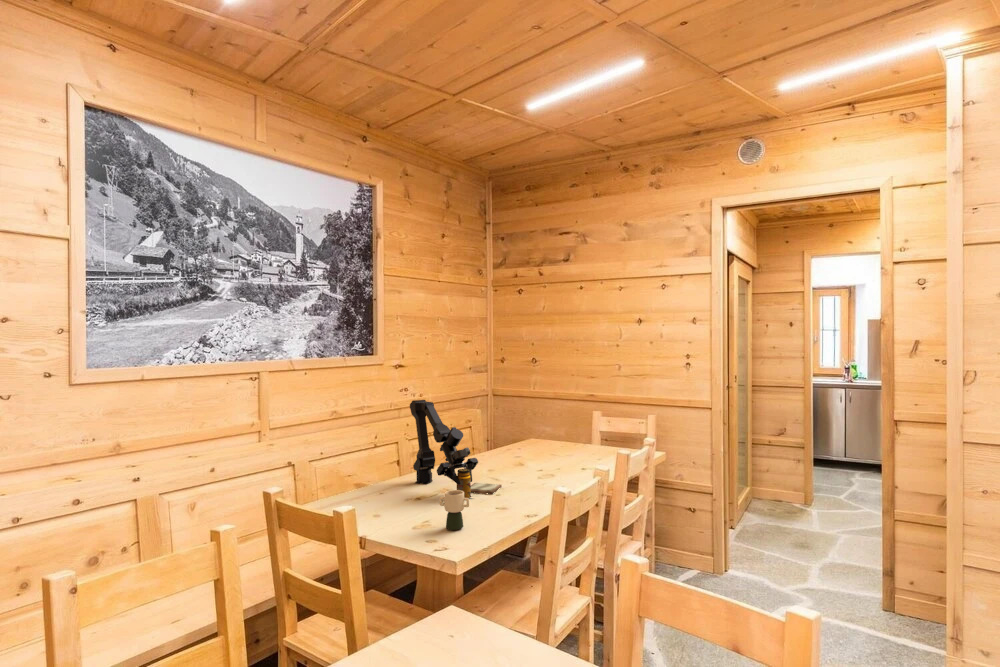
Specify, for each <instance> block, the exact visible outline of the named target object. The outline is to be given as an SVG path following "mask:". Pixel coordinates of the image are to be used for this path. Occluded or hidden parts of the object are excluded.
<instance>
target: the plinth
mask: <svg viewBox="0 0 1000 667" xmlns="http://www.w3.org/2000/svg"><path fill="white" fill-rule="evenodd" d="M502 487H503V486H502V484H499V483H497V484H496V483H485V482H484V483H483V482H474V483H471V492H475V493H474V494H480V493H488V494H487V495H494V494H495V493H497V490H498V489H499V488H500V489H502ZM500 489H499V490H500ZM499 490H498V491H499ZM494 492H495V493H494ZM493 493H494V494H493Z"/></svg>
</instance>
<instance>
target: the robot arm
mask: <svg viewBox="0 0 1000 667" xmlns="http://www.w3.org/2000/svg"><path fill="white" fill-rule="evenodd" d="M409 409H410V413H411V415H412V417H413V418H414V419H415V425H416V433H417V443H418V451H417V453H416V459H415V461H414V463H413V465H412V467H413V470H414V471H416V481H415V482H414V484H420V483H423V484H422V485H428V484H430V483H432V482H433V471H432V470H434V469H435V465H436V456H435V451H434V450H432V449H431V447H430V442H429V434H428V427H427V419H428V421H429V423H430V425H431V427H432V429H433V430H432V431H433V432H432V436H433V437H434V438H433V439H434V441H435V442H436V443H438V444H439V443H442V444H440V448H439V451H440V452H443V453H444V456H445V462H440V464H439V466H438V467H437V469H436V473H437V476H444V477H447V478H449V479H450V480H452V481H453V482H454V483H456V485H457V484H460V482H459V479H458V477H457V473H456V470H458V469H469V470H470V477H471V483H472V482H473V473H472V472H473V470H474V469H476V467H477V465H478V464H479V460H478V458H477V457H471V458H468V459H467V460H466V459H465V458H467V457H469V455H471V450H470V448H469V447H464V448H462V449H457V447H458V445H459V444H460V443H461V441H462V439H464V438H463V437H464V432H462V431H461V430H460V429H458V428H457V427H456V426H454V427H453V426H452V427H451V428H449V426H447V425H446V424H444V422H443V421H442V419H441V418H440V416H439V413H438V412H437V410H436V407H435V405H434V402H433V401H427V400H426V399H415V400H412V401H411V402H410V403H409ZM426 418H427V419H426ZM465 460H466V461H465ZM464 461H465V462H464Z"/></svg>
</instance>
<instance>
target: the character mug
mask: <svg viewBox="0 0 1000 667" xmlns="http://www.w3.org/2000/svg"><path fill="white" fill-rule="evenodd" d="M443 500H444V503H443ZM465 502H466V503H465ZM439 506H441V507H444V511H445V512H447V515H446V521H445V522H446V523H445V527H446V529H447V530H451V531H454V530H460V529H461V528H462V529H463V528H464V520H463V514H462V512H463V511H464V509H465V508H469V507H470V499H469V498H464V492H463V491H461V490H457V489H451V490H447V491H445V492H444V496H440V497H439Z"/></svg>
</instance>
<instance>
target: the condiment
mask: <svg viewBox="0 0 1000 667" xmlns="http://www.w3.org/2000/svg"><path fill="white" fill-rule="evenodd" d="M456 475H457V477H458V479H459V482H460V484H457V483H456V490H461V491H463V492H464V498H470V496H471V497H472V493H471V485H472V482H471V477H470V470H469V469H464V468H458V469H457V473H456Z"/></svg>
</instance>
